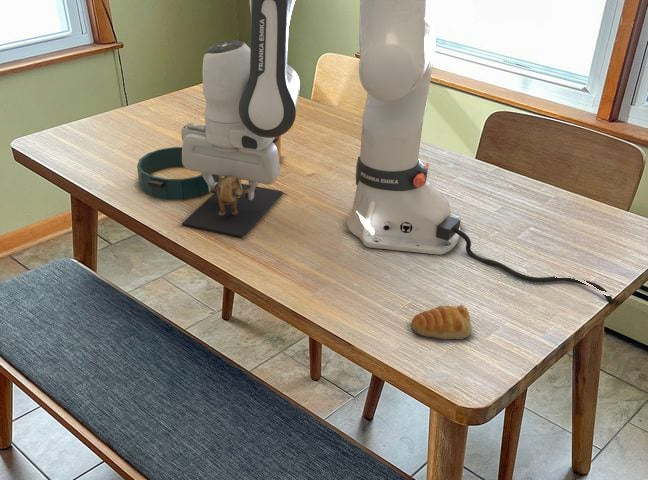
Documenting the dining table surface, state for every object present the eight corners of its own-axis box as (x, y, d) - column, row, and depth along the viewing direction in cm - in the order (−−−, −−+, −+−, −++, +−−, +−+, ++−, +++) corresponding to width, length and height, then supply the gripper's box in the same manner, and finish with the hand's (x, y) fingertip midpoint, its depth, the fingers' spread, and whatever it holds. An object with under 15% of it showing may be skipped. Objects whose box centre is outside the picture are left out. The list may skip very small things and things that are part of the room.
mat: (282, 193, 158) (282, 191, 157) (241, 238, 142) (241, 235, 142) (227, 183, 161) (227, 180, 161) (182, 225, 146) (181, 223, 145)
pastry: (416, 343, 117) (419, 324, 114) (406, 319, 122) (408, 300, 120) (473, 339, 118) (477, 320, 115) (460, 315, 123) (463, 296, 121)
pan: (235, 170, 167) (234, 151, 164) (193, 208, 151) (191, 188, 149) (168, 158, 171) (166, 139, 168) (121, 194, 156) (118, 174, 153)
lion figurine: (244, 223, 146) (243, 181, 140) (217, 224, 145) (215, 182, 140) (243, 190, 157) (241, 150, 152) (218, 191, 157) (215, 151, 151)
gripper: (172, 127, 142) (178, 192, 150) (270, 144, 136) (270, 210, 145) (188, 116, 147) (193, 180, 155) (282, 132, 141) (282, 197, 150)
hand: (231, 195), depth 150 cm, fingers open, 7 cm apart
